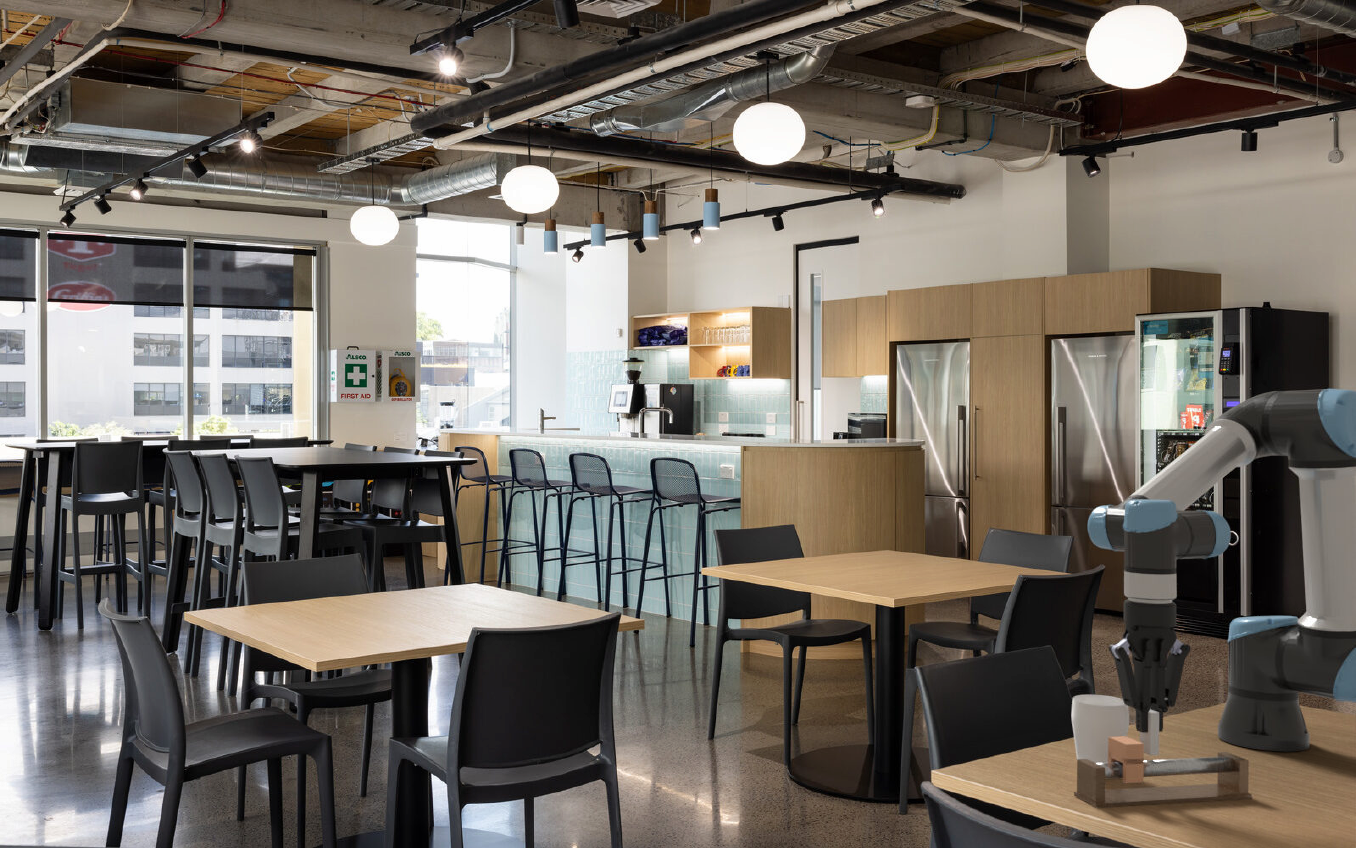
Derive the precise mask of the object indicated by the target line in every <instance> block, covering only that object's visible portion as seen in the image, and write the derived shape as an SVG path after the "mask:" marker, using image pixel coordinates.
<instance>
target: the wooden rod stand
mask: <svg viewBox="0 0 1356 848" xmlns="http://www.w3.org/2000/svg"><path fill="white" fill-rule="evenodd" d="M1249 764H1250V763H1249V759H1246V758H1243V757H1241V756H1238V755H1236V754H1233V753H1231V752H1228V751H1219V752H1217V756H1208V757H1206V756H1204V757H1191V758H1189V757H1188V758H1172V759H1171V758H1169V759H1167V758H1166V759H1149V760H1144V772H1143V778H1147V777H1168V776H1186V775H1202V774H1203V775H1204V774H1205V775H1207V774H1217V783H1203V784H1191V785H1190V784H1189V785H1188V784H1187V785H1173V786H1172V785H1171V786H1170V785H1169V786H1153V787H1152V786H1151V787H1139V788H1138V787H1136V788H1135V787H1134V788H1121V789H1117V788H1115V789H1106V780H1113V779H1115V780H1116V779H1123V763H1122V762H1107V763H1094V762H1092V761H1090V760H1088V759H1077V758H1076V765H1077V767H1076V791H1073V796H1074V797H1075V796H1076V797H1075V798H1077V797H1078V799H1079V798H1080V800H1081V801H1083V802H1085V801H1086V802H1088V803H1089V804H1088V803H1087V804H1088V805H1091V806H1092V807H1094V806H1095V807H1094V808H1096V807H1101V808H1113V807H1116V806H1118V807H1131V806H1132V807H1133V806H1145V805H1147V806H1148V805H1149V806H1150V805H1163V804H1164V805H1165V804H1167V805H1168V804H1178V803H1179V804H1180V803H1181V804H1182V803H1197V802H1199V803H1200V802H1214V801H1216V802H1217V801H1229V800H1231V801H1232V800H1246V799H1248V800H1249V799H1250V800H1251V799H1252V797H1253V796H1252V794H1251V793H1249V777H1250V774H1249V769H1250V768H1249V766H1250V765H1249ZM1086 802H1085V803H1086Z"/></svg>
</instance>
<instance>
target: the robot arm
mask: <svg viewBox="0 0 1356 848" xmlns="http://www.w3.org/2000/svg"><path fill="white" fill-rule="evenodd" d="M1270 456H1281V457H1287V458H1288V459H1287V460H1288V469H1289V470H1290V471H1292V472H1293V473H1294V475H1296V476H1297V477H1298V480H1299V481H1298V482H1299V483H1298V484H1299V500H1300V501H1299V502H1300V517H1301V520H1300V521H1301V534H1302V535H1301V536H1302V537H1301V538H1302V555H1303V572H1304V574H1303V575H1304V589H1305V590H1304V592H1305V605H1306V606H1305V607H1306V608H1305V609H1306V611H1305V612H1304V614H1303V615H1301V617H1299V618H1298V616H1292V615H1260V616H1259V615H1257V616H1255V615H1254V616H1243V617H1237V618H1234V619H1232V621H1231V622H1230V623H1229V630H1228V631H1229V632H1228V639H1227V643H1228V691H1227V692H1228V696H1227V699H1226V702H1225V704H1224V708H1223V710H1222V714H1221V717H1220V720H1219V721H1218V723H1217V737H1218V738H1219V739H1220V740H1222V741H1223V742H1226V743H1228V744H1232V745H1235V746H1239V747H1244V748H1249V749H1255V750H1262V751H1271V752H1299V751H1301V752H1302V751H1305V750H1308V749H1309V748H1310V732H1309V730H1308V729H1307V725H1306V721H1305V717H1304V714H1303V711H1302V708H1301V706H1300V701H1299V700H1300V699H1299V697H1300V695H1299V694H1300V693H1302V694H1307V695H1312V696H1316V697H1322V698H1326V699H1327V698H1328V699H1332V700H1336V701H1337V702H1342V703H1343V702H1350V703H1356V390H1353V389H1344V388H1343V389H1341V388H1340V389H1339V388H1327V389H1325V388H1324V389H1306V390H1275V391H1274V390H1273V391H1269V392H1264V393H1261V394H1257V395H1255V396H1253V397H1250V398H1248V399H1245V400H1244V401H1242V402H1240V403H1238V404H1236V405H1235V406H1233V407H1231V408H1230V409H1228V410H1227V411H1225V412H1224V413H1222V414H1220V416H1218V417H1217V418H1216V419H1214V420H1212V422H1211V423H1209V425H1207V427H1206V429H1205V431H1204V435H1203V436H1202V437H1201V438H1200V439H1199V440H1197V441H1196V442H1195V443H1194V444H1193V445H1191V446H1190V447H1189V448H1188V449H1186V450H1185V451H1184V452H1183V453H1182V454H1180V455H1179V456H1177V458H1175V459H1174V460H1173V461H1172V462H1170V463H1169V464H1168V465H1166V466H1165V467H1164V468H1163V469H1161V471H1159V472H1158V473H1157V474H1155V475H1154V476H1153V477H1152V478H1150V479H1149V480H1148V481H1147V482H1145V483H1144V484H1143V485H1142V486H1140V487H1139V488H1138V489H1137V490H1136V491H1134V492H1133V493H1132V494H1131V495H1129V496H1128V497H1127V498H1126V499H1125V500H1123V501H1122V502H1120V503H1119V504H1118V505H1114V504H1107V505H1100V506H1097V507H1096V508H1094V509H1093V510H1092V512H1091V513H1090V515H1089V517H1088V520H1087V533H1088V536H1089V539H1090V541H1091V542H1092V543H1093V545H1095V546H1096V547H1098V548H1100V549H1104V550H1112V551H1113V552H1124V564H1123V565H1124V566H1123V568H1124V569H1123V574H1124V575H1123V595H1124V596H1125V597H1127V599H1125V600H1124V601H1123V621H1124V627H1125V629H1124V632H1123V634H1122V639H1121V640H1120V641H1119V642H1118V643H1117V644H1114V643H1113V644H1112V643H1111V644H1110V645H1108V650H1109V653H1110V655H1112V657H1113V659H1114V663H1115V669H1116V673H1117V677H1118V682H1119V686H1120V692H1121V696H1122V699H1123V701H1124V704H1125V705H1128V707H1131V708H1133V709H1134V711H1135V729H1136V731H1138V732H1139V742H1141V743H1143V744H1144V754H1146V755H1148V756H1151V757H1152V756H1159V755H1160V732H1161V733H1162V732H1163V729H1164V714H1166V713H1167V712H1168V711H1169V708H1172V707H1175V706H1176V703H1177V699H1178V698H1177V697H1178V693H1179V688H1180V685H1181V684H1180V683H1181V679H1182V675H1183V670H1184V665H1185V661H1186V659H1187V658H1188V655H1189V653H1191V649H1192V648H1191V646H1190V645H1189V644H1186V643H1183V642H1182V641H1180V640H1179V639H1178V635H1177V633H1176V631H1175V626H1176V624H1177V604H1176V603H1175V602H1174V601H1173V600H1175V599H1177V596H1178V595H1177V592H1178V591H1177V588H1178V587H1177V560H1185V559H1186V560H1188V559H1192V560H1193V559H1203V560H1207V559H1208V558H1212V557H1213V558H1214V557H1218V556H1220V555H1221V554H1223V553H1224V552H1225V551H1226V550H1227V549H1228V547H1229V545H1230V543H1231V536H1232V534H1231V527H1230V525H1229V523H1228V521H1227V520H1226V519H1225V517H1224V516H1223V515H1221V514H1220V513H1218V512H1215V511H1212V510H1205V509H1203V510H1202V509H1197V510H1186V509H1188V508H1189V507H1190V506H1191V505H1193V503H1195V502H1196V501H1198V500H1199V498H1201V497H1202V496H1203V495H1205V494H1206V493H1207V492H1208V491H1209V490H1210V489H1211V488H1213V487H1214V486H1216V484H1218V483H1219V482H1220V481H1221V480H1222V479H1223V478H1224V477H1225V476H1227V475H1228V474H1230V472H1232V471H1233V470H1235V468H1241V467H1245V466H1247V465H1249V464H1251V463H1252V462H1254V460H1256V459H1259V458H1263V457H1270ZM1130 654H1131V656H1132V657H1131V659H1130Z"/></svg>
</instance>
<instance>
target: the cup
mask: <svg viewBox="0 0 1356 848" xmlns="http://www.w3.org/2000/svg"><path fill="white" fill-rule="evenodd" d="M1071 703H1072V704H1071V724H1072V732H1073V739H1074V746H1075V747H1074V748H1075V754H1076V755H1075V756H1076V760H1077V759H1088V760H1090V761H1092V762H1094V763H1107V762H1108V737H1117V736H1127V737H1128V733H1129V727H1130V714H1129V713H1130V712H1129V706H1128V705H1125V704H1124V701H1123V698H1121V697H1116V696H1111V695H1110V696H1109V695H1104V694H1078V695H1075V696H1073V697H1072V702H1071Z"/></svg>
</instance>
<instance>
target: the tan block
mask: <svg viewBox="0 0 1356 848" xmlns="http://www.w3.org/2000/svg"><path fill="white" fill-rule="evenodd" d="M1144 754H1145V753H1144V744H1143V743H1141V742H1140V741H1138V740H1136V739H1133V738H1132V737H1130V736H1129V737H1128V735H1127V736H1117V737H1108V762H1122V763H1123V778H1122V782H1123V783H1124V784H1133V783H1144V777H1143V772H1144V761H1145V759H1144V757H1145V756H1144Z"/></svg>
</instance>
